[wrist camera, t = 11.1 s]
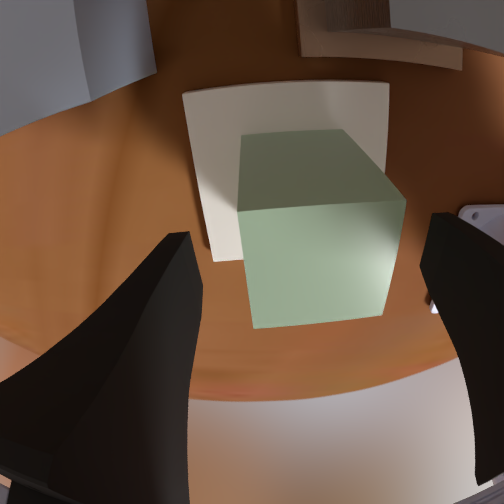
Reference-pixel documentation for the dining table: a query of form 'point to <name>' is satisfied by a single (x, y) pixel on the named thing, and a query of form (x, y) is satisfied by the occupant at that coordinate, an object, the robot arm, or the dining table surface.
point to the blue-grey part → (68, 54)
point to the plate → (267, 121)
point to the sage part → (315, 228)
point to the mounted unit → (400, 29)
